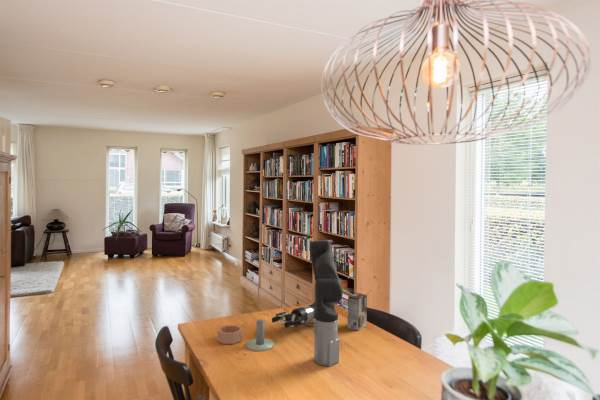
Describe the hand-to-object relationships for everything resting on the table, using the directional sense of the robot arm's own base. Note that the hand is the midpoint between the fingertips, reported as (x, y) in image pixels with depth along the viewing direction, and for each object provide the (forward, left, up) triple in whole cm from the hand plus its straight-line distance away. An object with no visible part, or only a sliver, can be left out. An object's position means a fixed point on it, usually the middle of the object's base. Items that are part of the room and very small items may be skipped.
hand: (278, 322), depth 182 cm
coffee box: (-16, -39, -8) cm, 43 cm away
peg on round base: (0, +11, -8) cm, 13 cm away
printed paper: (+6, -22, -8) cm, 24 cm away
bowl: (+14, +17, -7) cm, 23 cm away
